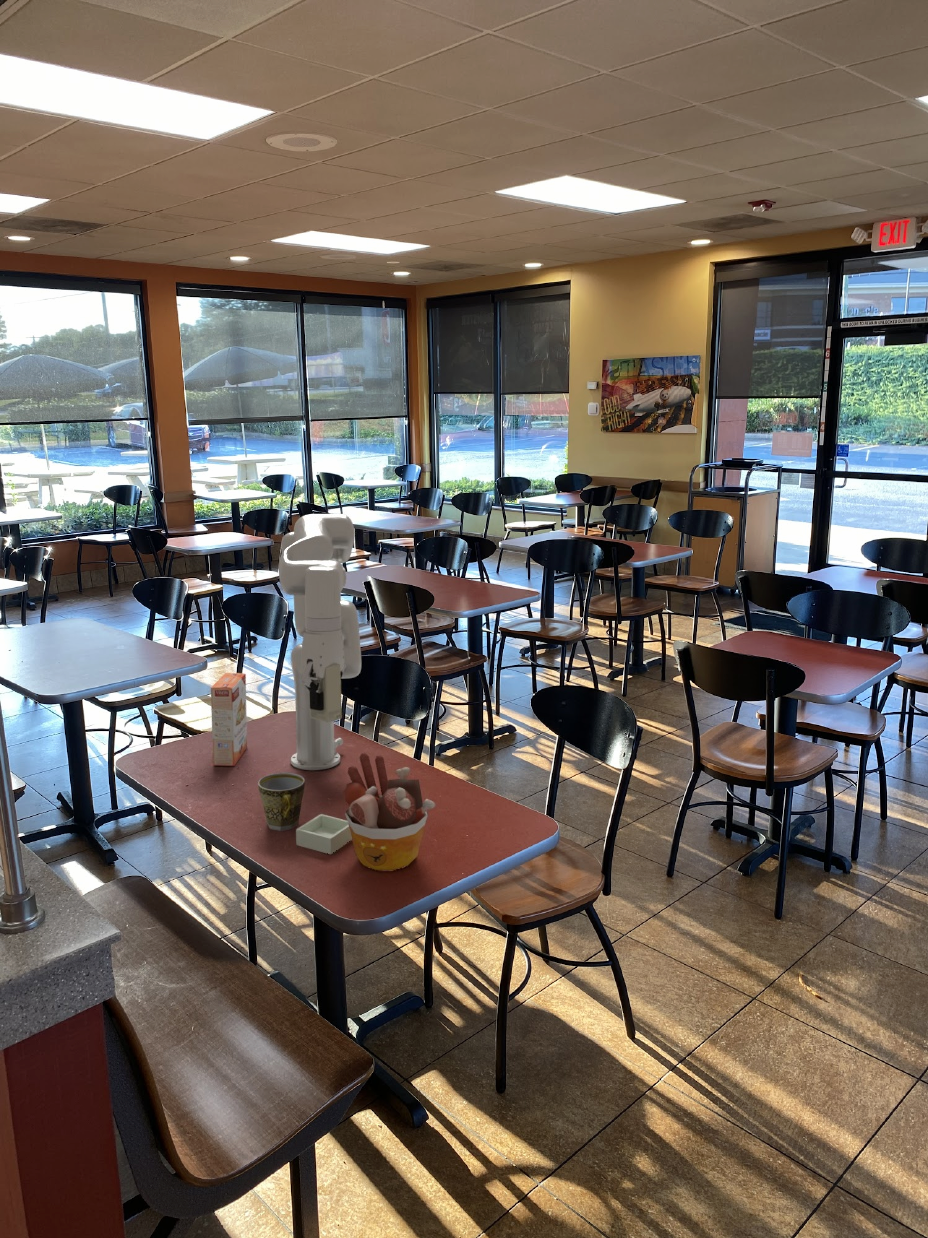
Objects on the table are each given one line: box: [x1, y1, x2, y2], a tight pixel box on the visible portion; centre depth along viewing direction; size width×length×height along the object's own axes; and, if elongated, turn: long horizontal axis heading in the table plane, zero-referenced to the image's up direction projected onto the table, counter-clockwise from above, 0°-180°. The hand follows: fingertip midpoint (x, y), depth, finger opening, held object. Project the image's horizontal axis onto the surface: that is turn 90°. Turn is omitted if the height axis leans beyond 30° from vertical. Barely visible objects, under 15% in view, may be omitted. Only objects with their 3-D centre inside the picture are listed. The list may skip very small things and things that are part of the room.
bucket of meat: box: [343, 752, 436, 871], centre depth 185 cm, size 20×16×20 cm
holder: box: [295, 813, 353, 855], centre depth 194 cm, size 9×9×4 cm
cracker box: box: [210, 672, 248, 767], centre depth 238 cm, size 14×6×21 cm, turn 179°
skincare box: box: [309, 664, 343, 722], centre depth 199 cm, size 6×4×12 cm
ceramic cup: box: [257, 772, 306, 832], centre depth 199 cm, size 13×10×10 cm
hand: (324, 705), depth 200 cm, fingers closed on skincare box, 5 cm apart
